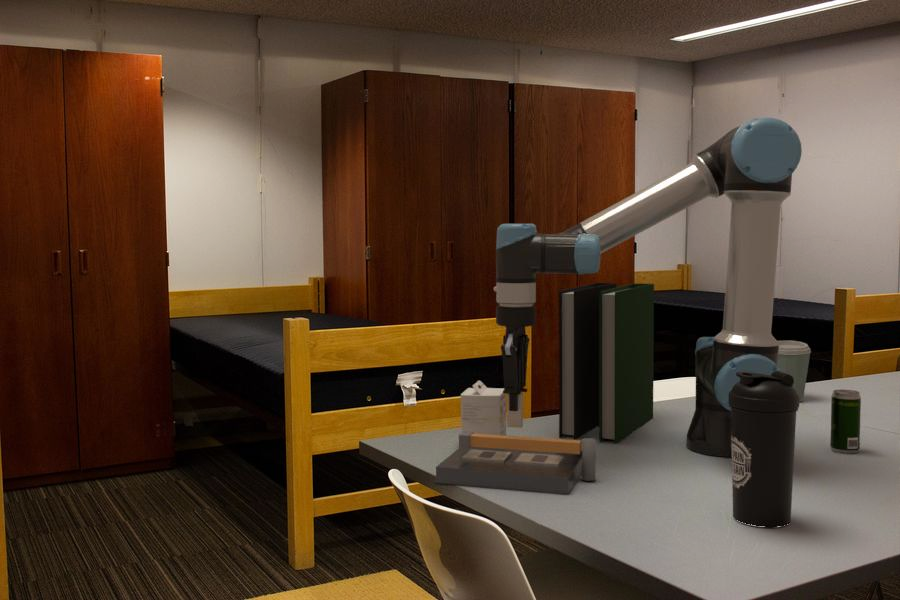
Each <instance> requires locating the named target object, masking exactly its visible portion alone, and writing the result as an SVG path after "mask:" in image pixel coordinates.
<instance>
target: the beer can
mask: <svg viewBox="0 0 900 600" xmlns="http://www.w3.org/2000/svg"><path fill="white" fill-rule="evenodd" d="M830 401H831V406H830V407H831V408H830V411H831V412H830V443H829V444H830V449H831V450H832V451H833V452H834V453H838V454H847V455H853V454H857V453H859V451H860V449H861V447H860V444H861V442H860V441H861V438H860V437H861V411H862V409H861V407H862V406H861V405H862V404H861V403H862V397H861V392H860V391H857V390H853V389H833V390H832V395H831V400H830Z"/></svg>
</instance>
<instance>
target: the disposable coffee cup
mask: <svg viewBox="0 0 900 600" xmlns="http://www.w3.org/2000/svg"><path fill="white" fill-rule="evenodd" d="M777 341H778V342H779V350H778V364H777V365H778V367H779V369H780V370H781V372H784V373H787V374H789V375H791V376H792V377H793V379H794V383H793V388H794V389H795V390H796V393H797V394H798V395H799V403H800V402H802V401H803V399H804V397H805V391H806V383H807V375H808V370H809V363H810V357H811V353H812V351H811V348H810V347H809V345H808V343H806V342H803V341H797V340H777Z"/></svg>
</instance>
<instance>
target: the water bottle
mask: <svg viewBox="0 0 900 600" xmlns="http://www.w3.org/2000/svg"><path fill="white" fill-rule="evenodd" d="M736 376H738V377H740V381H739V382H737V383H736V384H735V385H734V386H733V388H732V390H731V391H730V392H729V406H730V407H731V432H732V436H731V450H732V451H731V452H732V457H731V484H732V487H731V488H732V518H733V517H734V518H735V519H736V520H738V521H740V522H743V523H746V524H750V525H751V524H752V525H756V526H765V527H777V526H784V525H787V524H789V523H790V524H791V521H792V520H791V519H792V501H793V483H794V482H793V480H794V463H795V446H796V445H795V444H796V425H797V411H799V407H800V402H799V395H798V394H797V393H796V390H795V389H794V388H793V383H794V379H793V377H792V376H791V375H789V374H787V373H784V372H781V371H774V372H773V373H772V374H771V375H765V374H759V373H752V372H737V373H736ZM734 518H733V519H734ZM735 519H734V520H735ZM736 520H735V521H736ZM738 521H737V522H738ZM740 522H739V523H740ZM790 524H789V525H790ZM787 526H788V525H787Z"/></svg>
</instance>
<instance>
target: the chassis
mask: <svg viewBox="0 0 900 600" xmlns="http://www.w3.org/2000/svg"><path fill="white" fill-rule="evenodd" d="M580 476H582V450H581V453H580V454H570V453H556V452H541V451H527V450H512V449H498V448H484V447H470V448H459V447H458V448H457V449H456V450H455V451H454V452H452V453H450V455H448V457H446V458H445V459H444V460H443V461H442V462H440V463H439V464H438V465H437V466H435V483H436V484H441V485H453V486H465V487H473V488H474V487H476V488H477V487H478V488H488V489H489V488H490V489H500V490H513V491H524V492H525V491H526V492H534V493H535V492H536V493H548V494H558V495H559V494H560V495H570V493H571V492H572V490H573V488H574V486H575V485H576V483H577V481H578V479H579V478H580Z"/></svg>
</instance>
